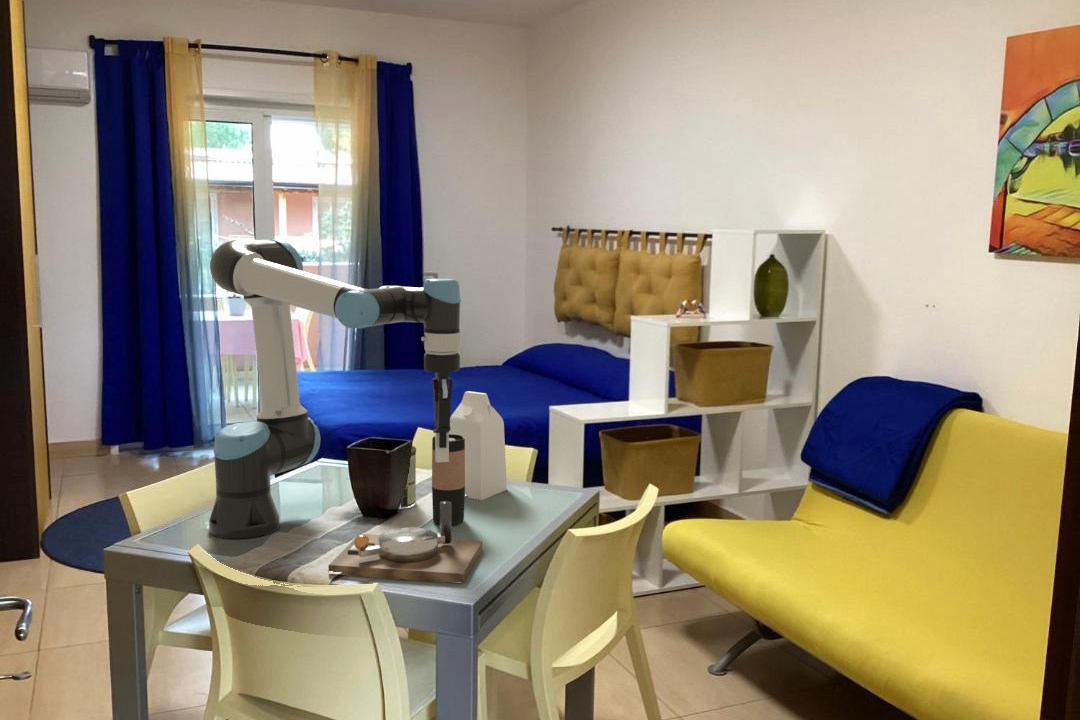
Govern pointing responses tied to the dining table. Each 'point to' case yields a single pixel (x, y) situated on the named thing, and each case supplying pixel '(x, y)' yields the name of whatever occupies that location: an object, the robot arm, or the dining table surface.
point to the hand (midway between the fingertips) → (442, 461)
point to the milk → (481, 445)
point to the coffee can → (410, 482)
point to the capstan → (409, 540)
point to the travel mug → (449, 480)
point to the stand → (411, 563)
